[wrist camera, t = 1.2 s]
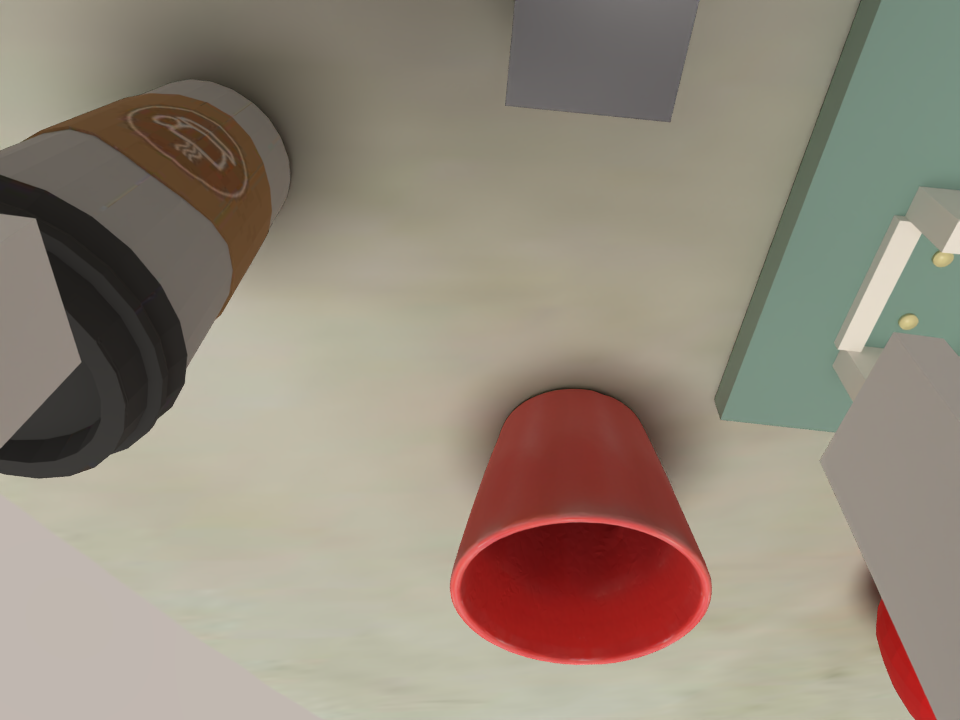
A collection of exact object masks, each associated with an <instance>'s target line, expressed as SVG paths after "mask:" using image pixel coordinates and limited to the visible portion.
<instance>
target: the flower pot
mask: <svg viewBox="0 0 960 720" xmlns="http://www.w3.org/2000/svg"><path fill="white" fill-rule="evenodd" d="M450 592H451V598H452V602H453V604H454V607H455V609H456V611H457V613H458V614H459V615H460V617H461V618H462V619H463V621H464V622H465V623H466V624H467V625H468V626H469V627H470V628H471V629H472V630H473V631H474V632H476V633H477V634H478V635H480V636H481V637H482V638H484V639H485V640H487V641H489V642H491V643H492V644H494V645H496V646H498V647H501V648H503V649H505V650H507V651H509V652H512V653H515V654H518V655H521V656H525V657H528V658H532V659H536V660H541V661H547V662H552V663H561V664H573V665H589V664H608V663H616V662H621V661H626V660H630V659H634V658H638V657H642V656H645V655H648V654H650V653H653V652H656V651H658V650H660V649H663V648H665V647H667V646H669V645H670V644H672V643H674V642H676V641H677V640H679V639H680V638H682V637H683V636H685V635H686V634H687V633H688V632H690V631H691V630H692V629H693V628H694V627H695V626H696V625H697V624H698V623H699V622H700V620H701V619H702V617H703V616H704V615H705V613H706V611H707V609H708V606H709V604H710V600H711V594H712V585H711V578H710V575H709V572H708V569H707V566H706V564H705V561H704V559H703V557H702V554H701V552H700V550H699V548H698V545H697V543H696V541H695V539H694V536H693V534H692V532H691V530H690V527H689V525H688V523H687V521H686V518H685V516H684V514H683V512H682V510H681V508H680V505H679V503H678V501H677V498H676V496H675V494H674V491H673V489H672V487H671V484H670V482H669V480H668V478H667V476H666V474H665V471H664V469H663V467H662V465H661V463H660V461H659V459H658V457H657V455H656V453H655V450H654V448H653V446H652V444H651V442H650V440H649V438H648V436H647V434H646V432H645V430H644V428H643V426H642V424H641V422H640V421H639V419H638V418H637V416H636V415H635V414H634V412H633V411H632V410H630V409H629V408H628V407H627V406H626V405H624V404H623V403H621V402H620V401H618V400H616V399H614V398H612V397H610V396H606V395H603V394H600V393H598V392H595V391H591V390H585V389H561V390H554V391H550V392H546V393H543V394H540V395H537V396H535V397H533V398H531V399H529V400H527V401H525V402H523V403H522V404H521V405H520V406H518V407H517V408H516V409H515V410H514V411H513V412H512V413H511V414H510V415H509V417H508V418H507V419H506V421H505V423H504V425H503V427H502V429H501V432H500V435H499V437H498V440H497V443H496V445H495V447H494V450H493V452H492V455H491V457H490V460H489V463H488V465H487V468H486V470H485V473H484V476H483V479H482V481H481V484H480V487H479V490H478V493H477V496H476V499H475V502H474V504H473V507H472V510H471V513H470V516H469V519H468V522H467V525H466V528H465V531H464V534H463V537H462V540H461V543H460V547H459V550H458V553H457V556H456V560H455V563H454V567H453V571H452V574H451V580H450Z"/></svg>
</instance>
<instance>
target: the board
mask: <svg viewBox="0 0 960 720" xmlns="http://www.w3.org/2000/svg"><path fill="white" fill-rule="evenodd" d="M893 332H897V333H905V334H912V335H920V336H927V337H935V338H942V339H944V340H945V341H946V342H947V343H948V344H949V346H950V347H951V348H952V349H953V350H954V352H955V353H956V354H957V355H958V356H959V358H960V0H861V2H860V5H859V8H858V11H857V13H856V16H855V19H854V21H853V24H852V27H851V30H850V32H849V35H848V38H847V40H846V43H845V46H844V49H843V51H842V54H841V57H840V60H839V62H838V65H837V68H836V70H835V73H834V76H833V79H832V81H831V84H830V87H829V89H828V92H827V95H826V98H825V100H824V103H823V106H822V108H821V111H820V114H819V117H818V119H817V122H816V125H815V128H814V130H813V133H812V136H811V138H810V141H809V144H808V147H807V149H806V152H805V155H804V157H803V160H802V163H801V166H800V168H799V171H798V174H797V176H796V179H795V182H794V185H793V187H792V190H791V193H790V195H789V198H788V201H787V204H786V206H785V209H784V212H783V215H782V217H781V220H780V223H779V225H778V228H777V231H776V234H775V236H774V239H773V242H772V244H771V247H770V250H769V253H768V255H767V258H766V261H765V263H764V266H763V269H762V272H761V274H760V277H759V280H758V283H757V285H756V288H755V291H754V293H753V296H752V299H751V302H750V304H749V307H748V310H747V312H746V315H745V318H744V321H743V323H742V326H741V329H740V331H739V334H738V337H737V340H736V342H735V345H734V348H733V351H732V353H731V356H730V359H729V361H728V364H727V367H726V370H725V372H724V375H723V378H722V380H721V383H720V386H719V389H718V391H717V394H716V397H715V399H714V400H715V404H716V407H717V410H718V413H719V417H720V420H727V421H736V422H745V423H754V424H763V425H772V426H782V427H791V428H800V429H809V430H818V431H827V432H836V431H837V429H838V428H839V426H840V424H841V422H842V421H843V419H844V417H845V415H846V414H847V412H848V410H849V408H850V407H851V405H852V403H853V401H854V400H855V398H856V396H857V395H858V393H859V391H860V389H861V388H862V386H863V384H864V382H865V381H866V379H867V377H868V375H869V374H870V372H871V370H872V368H873V367H874V365H875V363H876V361H877V360H878V358H879V356H880V355H881V353H882V351H883V349H884V348H885V346H886V344H887V342H888V341H889V339H890V337H891V335H892V334H893Z"/></svg>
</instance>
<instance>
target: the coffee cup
mask: <svg viewBox="0 0 960 720" xmlns="http://www.w3.org/2000/svg"><path fill="white" fill-rule="evenodd" d="M289 185H290V168H289V159H288V156H287V153H286V150H285V148H284V145H283V142H282V139H281V137H280V135H279V134H278V132H277V130H276V129H275V127H274V126H273V124H272V122H271V121H270V119H269V118H268V117H267V116H266V115H265V114H264V113H263V112H262V111H261V110H260V109H259V108H258V107H257V106H256V105H255V104H254V103H252V102H251V101H249V100H248V99H246V98H245V97H243V96H242V95H240V94H239V93H237V92H235V91H234V90H232V89H229V88H227V87H224V86H222V85H219V84H216V83H214V82H211V81H202V80H192V79H188V80H183V81H178V82H172V83H169V84H166V85H164V86H161V87H159V88H156V89H154V90H151V91H149V92H146V93H144V94H141V95H138V96H133V97H127V98H123V99H121V100H118V101H116V102H113V103H111V104H108V105H105V106H103V107H100V108H98V109H95V110H92V111H90V112H87V113H85V114H82V115H80V116H77V117H74V118H72V119H69V120H67V121H64V122H61V123H59V124H56V125H54V126H51V127H49V128H46V129H43V130H41V131H39V132H37V133H36V134H34V135H32V136H31V137H29V138H27V139H25V140H24V141H22V142H20V143H18V144H16V145H13V146H10V147H8V148H5V149H3V150H0V214H5V215H13V216H21V217H28V218H36V221H37V224H38V227H39V231H40V234H41V237H42V240H43V243H44V246H45V249H46V253H47V256H48V259H49V262H50V265H51V268H52V271H53V275H54V278H55V281H56V284H57V287H58V290H59V293H60V297H61V300H62V303H63V306H64V309H65V312H66V315H67V319H68V322H69V325H70V328H71V331H72V334H73V337H74V341H75V344H76V347H77V350H78V353H79V356H80V359H81V363H80V364H79V365H78V366H77V367H76V368H75V370H74V371H73V372H72V373H71V374H70V375H69V376H68V377H67V378H66V379H65V380H64V381H63V382H62V383H61V384H60V386H59V387H58V388H57V389H56V390H55V391H54V392H53V393H52V394H51V395H50V396H49V397H48V398H47V399H46V400H45V402H44V403H43V404H42V405H41V406H40V407H39V408H38V409H37V410H36V411H35V412H34V413H33V414H32V415H31V416H30V418H29V419H28V420H27V421H26V422H25V423H24V424H23V425H22V426H21V427H20V428H19V429H18V430H17V431H16V432H15V434H14V435H13V436H12V437H11V438H10V439H9V440H8V441H7V442H6V443H5V444H4V445H3V446H2V447H1V448H0V473H2V474H6V475H14V476H23V477H31V478H52V477H65V476H71V475H74V474H77V473H80V472H83V471H86V470H88V469H91V468H94V467H96V466H97V465H98V464H99V463H101V462H102V461H103V460H104V459H106V458H107V457H108V456H109V455H110V454H113V453H116V452H119V451H122V450H125V449H127V448H129V447H130V446H131V445H133V444H134V443H135V442H136V441H138V440H139V439H140V438H141V437H143V436H144V435H145V434H146V433H148V432H149V431H150V429H151V428H152V427H153V426H154V424H155V422H156V421H157V419H158V418H159V417H160V416H162V415H163V414H164V413H165V412H166V411H168V410H169V409H170V408H171V407H172V406H173V404H174V402H175V400H176V399H177V397H178V395H179V393H180V391H181V389H182V387H183V386H184V383H185V374H186V368H187V366H188V365H189V363H190V361H191V360H192V358H193V356H194V355H195V353H196V351H197V350H198V348H199V346H200V344H201V343H202V341H203V339H204V338H205V336H206V334H207V333H208V331H209V329H210V328H211V326H212V324H213V323H214V321H215V320H216V319H217V318H218V317H219V316H220V315H221V314H222V312H223V310H224V309H225V307H226V305H227V304H228V302H229V300H230V298H231V297H232V295H233V293H234V292H235V290H236V288H237V286H238V285H239V283H240V281H241V280H242V278H243V276H244V274H245V273H246V271H247V269H248V268H249V266H250V264H251V262H252V261H253V259H254V257H255V256H256V254H257V252H258V250H259V249H260V247H261V245H262V243H263V241H264V239H265V238H266V236H267V234H268V232H269V228H270V226H271V225H272V223H273V221H274V220H275V218H276V216H277V215H278V213H279V211H280V209H281V207H282V206H283V204H284V202H285V200H286V198H287V195H288V190H289Z"/></svg>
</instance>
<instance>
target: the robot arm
mask: <svg viewBox="0 0 960 720" xmlns="http://www.w3.org/2000/svg"><path fill="white" fill-rule="evenodd" d="M80 363H81V359H80V356H79V353H78V350H77V347H76V344H75V341H74V337H73V334H72V331H71V328H70V325H69V322H68V319H67V315H66V312H65V309H64V306H63V303H62V300H61V297H60V293H59V290H58V287H57V284H56V281H55V278H54V275H53V271H52V268H51V265H50V262H49V259H48V256H47V253H46V249H45V246H44V243H43V240H42V237H41V234H40V231H39V227H38V224H37V221H36V218H28V217H21V216H13V215H5V214H0V448H1V447H2V446H3V445H4V444H5V443H6V442H7V441H8V440H9V439H10V438H11V437H12V436H13V435H14V434H15V432H16V431H17V430H18V429H19V428H20V427H21V426H22V425H23V424H24V423H25V422H26V421H27V420H28V419H29V418H30V416H31V415H32V414H33V413H34V412H35V411H36V410H37V409H38V408H39V407H40V406H41V405H42V404H43V403H44V402H45V400H46V399H47V398H48V397H49V396H50V395H51V394H52V393H53V392H54V391H55V390H56V389H57V388H58V387H59V386H60V384H61V383H62V382H63V381H64V380H65V379H66V378H67V377H68V376H69V375H70V374H71V373H72V372H73V371H74V370H75V368H76V367H77V366H78V365H79V364H80ZM820 463H821V465H822V467H823V469H824V472H825V474H826V476H827V478H828V480H829V483H830V485H831V487H832V489H833V491H834V494H835V496H836V498H837V500H838V503H839V505H840V507H841V509H842V511H843V514H844V516H845V518H846V520H847V522H848V525H849V527H850V529H851V531H852V533H853V536H854V538H855V540H856V542H857V544H858V547H859V549H860V551H861V553H862V556H863V558H864V560H865V562H866V564H867V567H868V569H869V571H870V573H871V575H872V578H873V580H874V582H875V584H876V586H877V589H878V591H879V593H880V595H881V598H882V600H883V602H884V604H885V606H886V609H887V611H888V613H889V615H890V617H891V620H892V622H893V624H894V626H895V628H896V631H897V633H898V635H899V637H900V639H901V642H902V644H903V646H904V648H905V651H906V653H907V655H908V657H909V659H910V662H911V664H912V666H913V668H914V670H915V673H916V675H917V677H918V679H919V681H920V684H921V686H922V688H923V690H924V693H925V695H926V697H927V699H928V701H929V704H930V706H931V708H932V710H933V712H934V715H935V717H936V719H937V720H960V358H959V356H958V355H957V354H956V353H955V352H954V350H953V349H952V348H951V347H950V346H949V344H948V343H947V342H946V341H945V340H944V339H942V338H935V337H927V336H920V335H912V334H905V333H897V332H893V334H892V335H891V337H890V339H889V341H888V342H887V344H886V346H885V348H884V349H883V351H882V353H881V355H880V356H879V358H878V360H877V361H876V363H875V365H874V367H873V368H872V370H871V372H870V374H869V375H868V377H867V379H866V381H865V382H864V384H863V386H862V388H861V389H860V391H859V393H858V395H857V396H856V398H855V400H854V401H853V403H852V405H851V407H850V408H849V410H848V412H847V414H846V415H845V417H844V419H843V421H842V422H841V424H840V426H839V428H838V429H837V431H836V433H835V435H834V436H833V438H832V440H831V442H830V443H829V445H828V447H827V448H826V450H825V452H824V454H823V455H822V457H821V459H820Z"/></svg>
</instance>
